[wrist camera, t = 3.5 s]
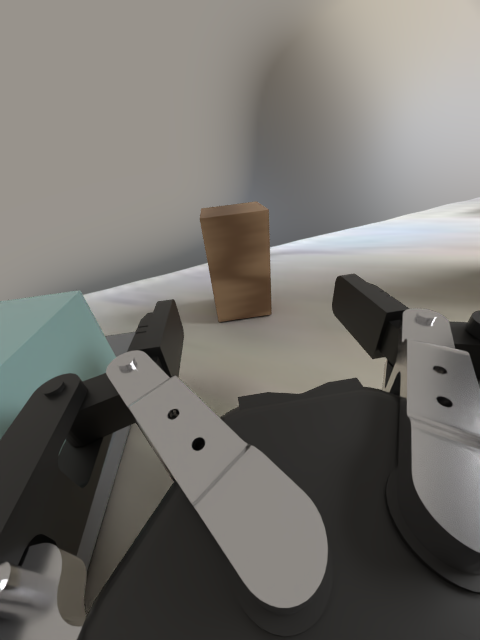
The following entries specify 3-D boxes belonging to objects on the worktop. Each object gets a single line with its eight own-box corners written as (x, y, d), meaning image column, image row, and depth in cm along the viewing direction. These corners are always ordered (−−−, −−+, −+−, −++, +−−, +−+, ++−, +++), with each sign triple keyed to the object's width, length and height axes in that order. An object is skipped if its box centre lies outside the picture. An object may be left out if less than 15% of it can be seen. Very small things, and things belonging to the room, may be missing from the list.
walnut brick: (261, 290, 26) (256, 201, 21) (271, 314, 22) (268, 209, 17) (216, 297, 26) (201, 208, 20) (218, 322, 21) (199, 218, 16)
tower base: (156, 340, 20) (124, 259, 16) (52, 686, 7) (-304, 729, 3) (49, 356, 19) (-11, 277, 15) (-290, 758, 6) (-1330, 937, 2)
